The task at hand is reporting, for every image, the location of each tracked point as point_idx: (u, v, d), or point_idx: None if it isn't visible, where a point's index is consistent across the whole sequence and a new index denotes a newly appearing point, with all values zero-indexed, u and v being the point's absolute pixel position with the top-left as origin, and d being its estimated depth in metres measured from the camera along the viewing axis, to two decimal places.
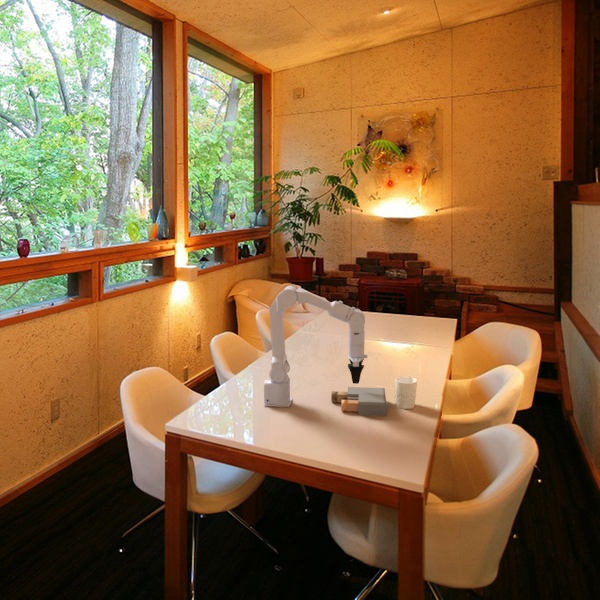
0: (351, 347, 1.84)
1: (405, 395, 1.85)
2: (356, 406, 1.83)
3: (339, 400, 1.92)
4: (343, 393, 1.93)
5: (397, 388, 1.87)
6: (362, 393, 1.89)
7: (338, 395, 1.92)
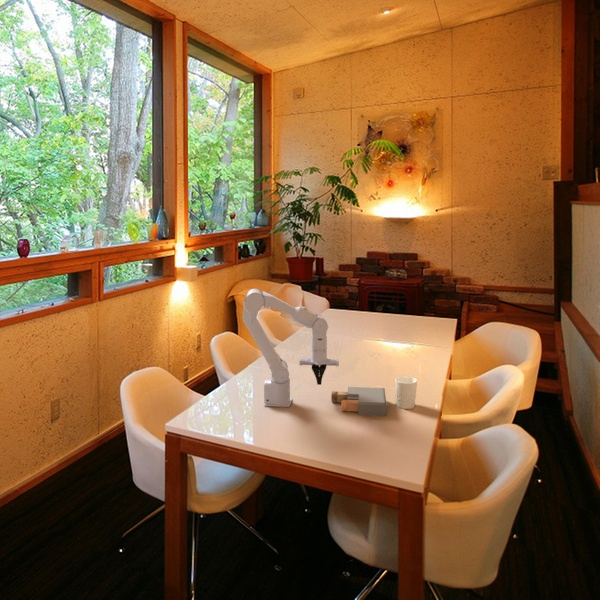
0: None
1: (405, 395, 1.85)
2: (356, 406, 1.83)
3: (339, 400, 1.92)
4: (343, 393, 1.93)
5: (397, 388, 1.87)
6: (362, 393, 1.89)
7: (338, 395, 1.92)
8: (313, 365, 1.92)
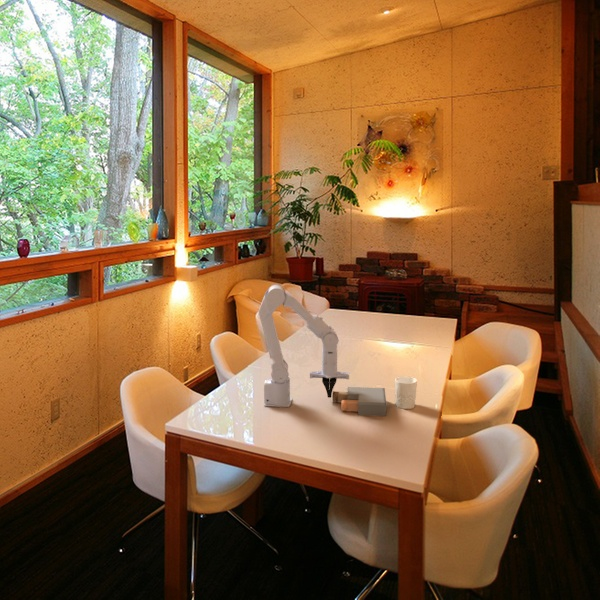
0: None
1: (405, 395, 1.85)
2: (356, 406, 1.83)
3: (340, 400, 1.92)
4: (344, 393, 1.93)
5: (397, 388, 1.87)
6: (362, 393, 1.89)
7: (339, 395, 1.92)
8: (323, 378, 1.92)
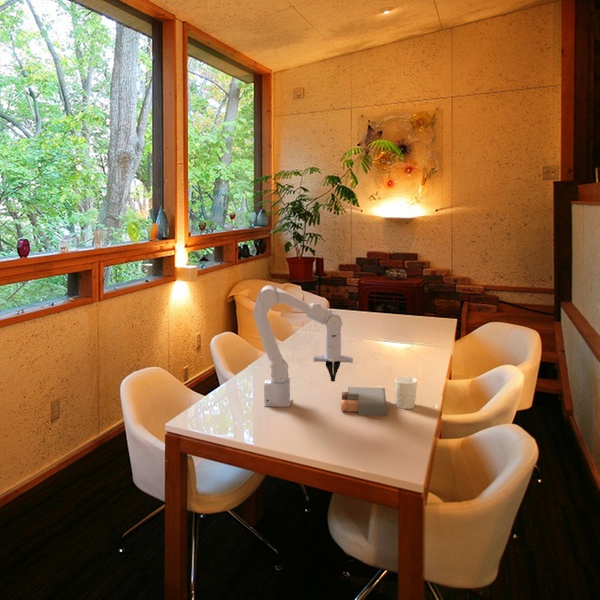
0: None
1: (405, 395, 1.85)
2: (356, 406, 1.83)
3: None
4: None
5: (397, 388, 1.87)
6: (362, 393, 1.89)
7: None
8: (327, 362, 1.91)
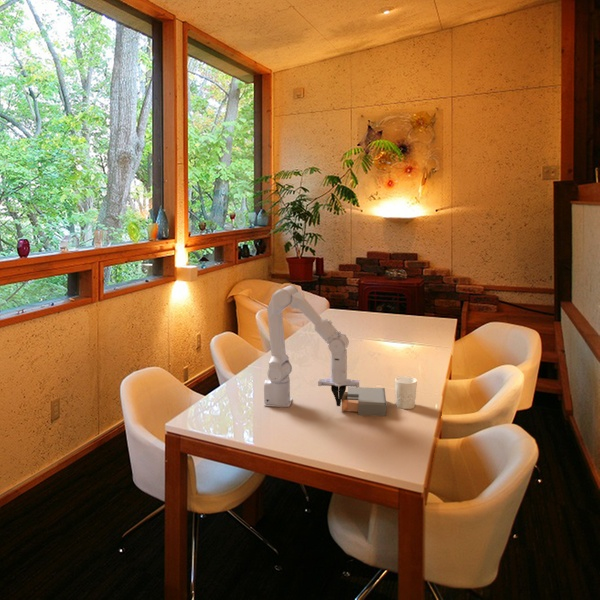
0: None
1: (405, 395, 1.85)
2: (356, 406, 1.83)
3: None
4: None
5: (397, 388, 1.87)
6: (362, 393, 1.89)
7: None
8: (332, 386, 1.84)
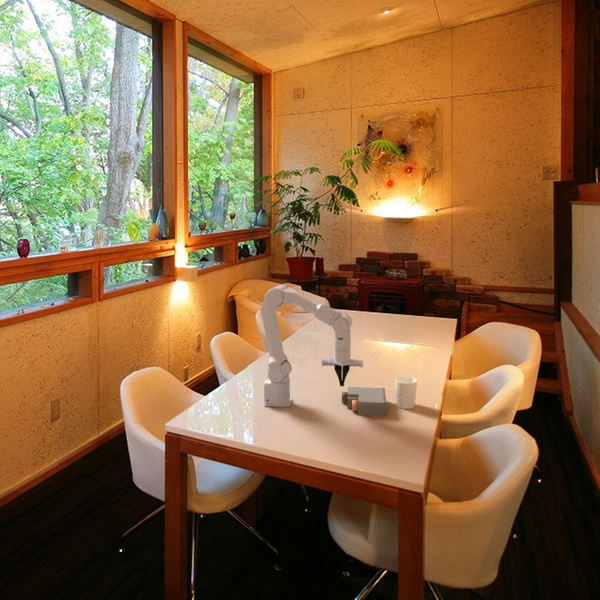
0: None
1: (405, 395, 1.85)
2: None
3: None
4: None
5: (397, 388, 1.87)
6: (362, 393, 1.89)
7: None
8: (336, 366, 1.83)
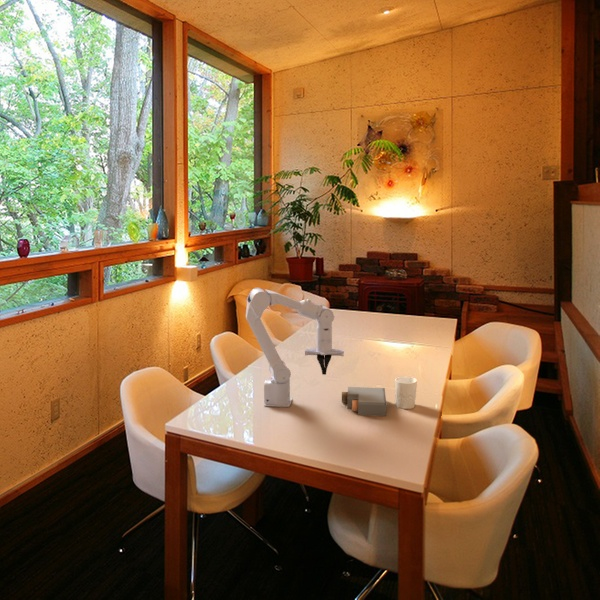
0: None
1: (405, 395, 1.85)
2: None
3: None
4: None
5: (397, 388, 1.87)
6: (362, 393, 1.89)
7: None
8: (318, 355, 1.94)
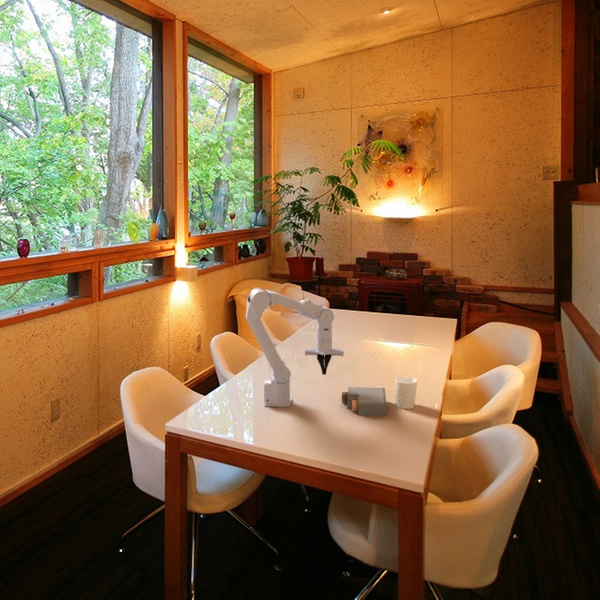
0: None
1: (405, 395, 1.85)
2: None
3: None
4: None
5: (397, 388, 1.87)
6: (362, 393, 1.89)
7: None
8: (318, 355, 1.94)
